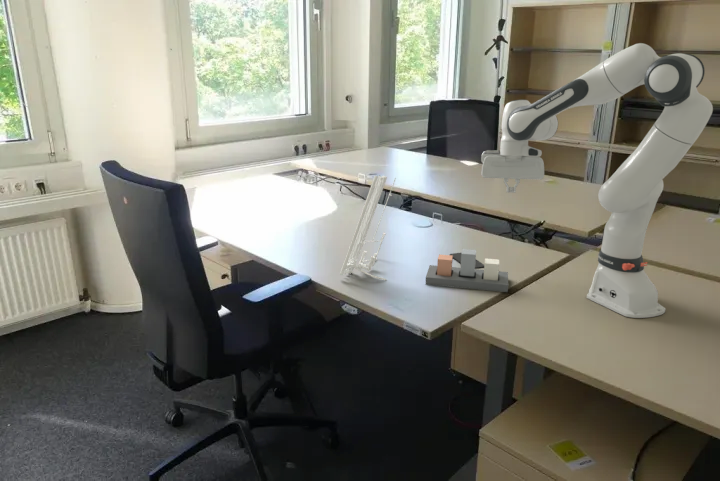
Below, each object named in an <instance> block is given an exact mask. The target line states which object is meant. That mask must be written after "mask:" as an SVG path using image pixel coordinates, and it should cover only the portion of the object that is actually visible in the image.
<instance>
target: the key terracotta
mask: <svg viewBox="0 0 720 481" xmlns="http://www.w3.org/2000/svg"><path fill="white" fill-rule="evenodd" d="M453 260H454V259H453V256H451V255H450V254H438V257H437V265H436V266H437V275H442V276H452V267H453Z"/></svg>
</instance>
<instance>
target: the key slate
mask: <svg viewBox="0 0 720 481" xmlns="http://www.w3.org/2000/svg"><path fill="white" fill-rule="evenodd" d="M460 253H461V264H460V267H459V268H460V275H464V276H474V273H475V260H477V257H476V256H477V250H476V249H470V248H469V249H466V248H462V249H461V252H460Z"/></svg>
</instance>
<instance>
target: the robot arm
mask: <svg viewBox="0 0 720 481" xmlns="http://www.w3.org/2000/svg"><path fill="white" fill-rule="evenodd" d="M705 71H706V70H705V65H704V63H703V61H702V60H701V58H699V57H698V56H696V55H694V54H691V53H681V52H679V53H678V52H677V53H672V54H666V55H662V56H659V55H658V54H657V52H656V51H655V50H654V49H653V47H652V46H650V45H648V44H646V43H642V42H639V43H635V44H633V45H630V46H627V48H624V49H622V50H620V51H618V52H616V53H615V54H613V55H611V56H609V57H607V59H604V60H603V61H602V62H600V63H598V64H597V65H596V66H594V67H593V68H591V69H590V70H588V71H587V72H585V73H583V74H582V75H579V77H577V78H575V79H573V80H572V81H570V82H568V83H567V84H565V85H563V86H560V87H559V88H557V89H556V90H553V91H552V92H550V93H549V94H547V95H546V96H544V97H542V98H540V99H538V100H536V101H534V102H533V103H531V102H530V101H529V100H528V99H515V100H514V99H513V100H511V101H509V102H507V103H506V104H505V106H504V107H503V111H502V119H501V127H500V128H501V134H502V135H501V137H500V138H501V139H500V144H499V146H500V147H499V148H500V149H498V150H495V149H494V150H491V149H487V150H485V151H483V152H482V154H481V155H480V156H481V157H480V161H481V163H482V165H481V172H480V174H481V177H482V178H483V179H503V183H504V185H505V187H506V193H515V194H516V192H517V187H518V185H520V182H521V180H543V179H544V177H545V164H544V162H545V161H544V160H543V158H542V154H543V153H542V150H541V149H538V148H535V147H533V146H530V145H529V141H548V140H550V139H552V138H553V136H555V135H556V133H557V132H558V128H559V120H558V117H557V115H559V114H561V113H562V112H564V111H567V110H569V109H573V108H576V107H583V106H584V107H585V106H599V105H605V104H607V103H610V102H613V101H615V100H616V99H619V98H621V97H623V96H624V95H625V94H627V93H629V92H631V91H632V90H634V89H636V88H638V87H640V86H643V85H644V86H645V89H646V91H647V92H648V93H649V94H650V95H651V96H652V97H653V98H654V99H655V100H656V101H657V102H658V103H659V104H660V105H661V106H662V107H664V108H663V110H662V112H661V114H660V115H659V116H658V117H657V119H656V121H655V122H654V123H653V125H652V126H651V128H650V129H649V131H648V132H647V133H646V134H645V136H644V137H643V139H642V141H641V142H640V143H639V144H638V146H637V147H636V148H635V149H634V151H632V153H631V154H630V155H628V157H627V158H626V159H625V160H624V161H623V162H622V163H621V164H620V166H619V167H618V168H617V169H616V171H615V172H614V173H613V174H612V175H611V176H610V177H609V178H608V179H607V180H606V181H605V182H604V183H603V184H602V185H601V186H600V188H599V190H598V194H597V195H598V196H597V197H598V198H597V199H598V202H599V204H600V205H601V207H602V208H603V209H605V210H606V211H608V212H610V213H611V215H610V217H609V218H608V220H607V221H606V223H605V225H604V228H603V229H604V230H603V237H602V242H601V248H600V249H599V251H598V255H597V256H598V257H597V262H598V265H597V267H596V269H595V272H594V275H593V278H592V282H591V285H590V288H589V289H588V293H587V294H586V299H588V300H590V301H592V302H595V303H597V304H598V305H601V306H602V307H604V308H607V309H609V310H611V311H613V312H615V313H617V314H620V315H622V316H624V317H626V318H635V319H642V318H643V319H644V318H645V319H646V318H653V317H658V316H661V315H663V314H664V313H666V307H664V306H663V305H661V303H659V302H658V300H659V293H658V292H659V291H658V289H657V288H656V285H655V283H653V282H652V280H651V279H650V277H649V276H648V274H647V273H646V271H645V267H647V266H648V262H646V261H645V262H644V259H643V258H644V257H643V255H642V252H643V248H644V243H645V238H646V232H647V229H648V226H649V223H650V221H651V218H652V216H653V214H654V211H655V208H656V206H657V205H656V204H657V202H658V200H659V197H660V196H661V194H662V192H663V190H664V179H665V177H667V176H668V175H669V173H671V172H672V171H673V170H674V169H675V168H676V167H677V166H678V164H679V163H681V160H682V159H683V158H684V156H685V155H686V154H687V152H688V151H689V150H690V148H692V146H693V145H694V143H696V141H697V140H698V139H699V137H700V135H701V134H702V133H703V130H704V129H705V128H706V126H707V124H708V122H709V120H710V118H711V117H712V114H713V111H714V108H713V107H714V106H713V104H712V102H711V100H710V99H709V98H708V97H706V96H705V95H703V94H701V93H700V92H699V90H698V87H699V86H700V84H701V83H702V82H703V80H704V78H705V74H706V73H705ZM509 179H513V180H514V182H515V184H514V185H513V186H509V184H508V182H509Z"/></svg>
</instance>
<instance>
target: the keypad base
mask: <svg viewBox="0 0 720 481" xmlns="http://www.w3.org/2000/svg"><path fill="white" fill-rule="evenodd" d="M428 266H429V267H428V270H427V273H426V276H425V285H428V286H438V287H449V288H460V289H470V290H481V291H491V292H501V293H508V292H509V273H508V271H501V270H500V271H499V273H498V281H496V280H485V279H483V277H484V269H480V268H477V269H475V273H474V276H464V275H460V268H461V267H456V266H455V267H454V266H452V276H442V275H437V265H433V264H431V265H428Z"/></svg>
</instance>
